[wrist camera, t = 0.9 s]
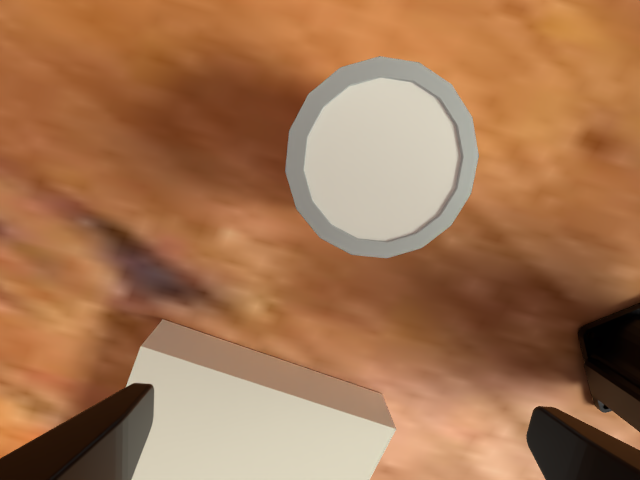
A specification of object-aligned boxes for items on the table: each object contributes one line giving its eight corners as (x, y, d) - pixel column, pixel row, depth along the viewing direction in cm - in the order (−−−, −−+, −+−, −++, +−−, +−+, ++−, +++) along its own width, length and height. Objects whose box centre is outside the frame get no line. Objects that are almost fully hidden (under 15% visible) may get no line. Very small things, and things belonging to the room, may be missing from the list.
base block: (162, 319, 20) (140, 345, 17) (382, 393, 22) (396, 429, 19) (90, 511, 22) (60, 564, 19) (296, 561, 24) (297, 616, 21)
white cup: (260, 170, 19) (242, 175, 12) (345, 66, 18) (379, 5, 11) (355, 250, 20) (389, 295, 13) (437, 156, 19) (519, 152, 12)
